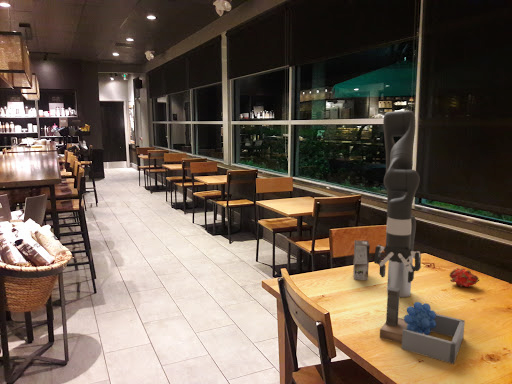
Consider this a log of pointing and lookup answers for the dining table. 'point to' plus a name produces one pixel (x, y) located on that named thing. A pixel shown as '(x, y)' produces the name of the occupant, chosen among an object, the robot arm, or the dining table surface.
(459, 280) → the dragon fruit
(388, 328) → the post on wooden base
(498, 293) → the dining table surface
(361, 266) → the coffee box
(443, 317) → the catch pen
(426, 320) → the grapes
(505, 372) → the dining table surface
